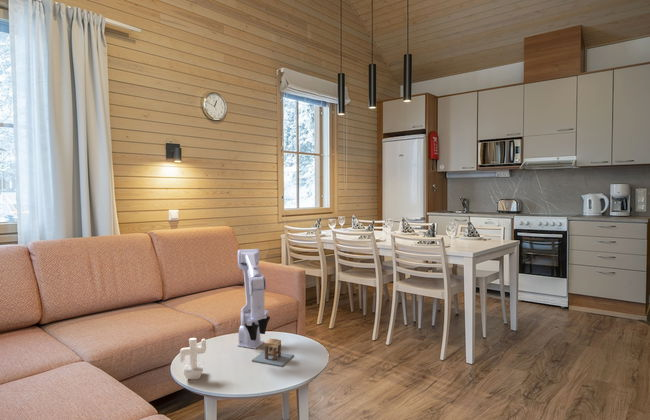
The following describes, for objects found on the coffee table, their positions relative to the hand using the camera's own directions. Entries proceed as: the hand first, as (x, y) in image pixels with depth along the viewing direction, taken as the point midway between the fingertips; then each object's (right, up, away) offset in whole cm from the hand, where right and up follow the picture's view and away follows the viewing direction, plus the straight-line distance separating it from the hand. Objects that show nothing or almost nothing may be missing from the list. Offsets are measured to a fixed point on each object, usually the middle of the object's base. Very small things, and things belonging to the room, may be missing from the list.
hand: (258, 336), depth 176 cm
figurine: (-22, -11, -15) cm, 29 cm away
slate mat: (+6, -9, 0) cm, 11 cm away
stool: (+6, -9, 0) cm, 11 cm away
